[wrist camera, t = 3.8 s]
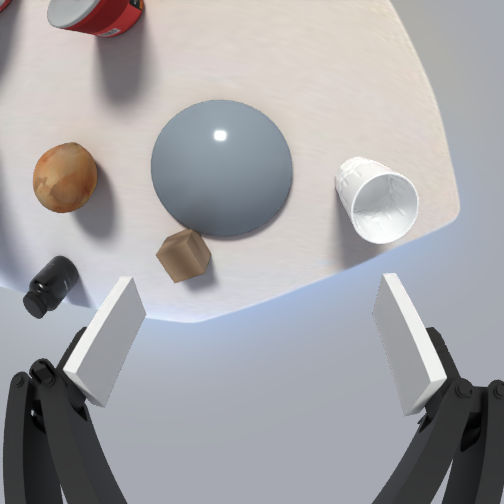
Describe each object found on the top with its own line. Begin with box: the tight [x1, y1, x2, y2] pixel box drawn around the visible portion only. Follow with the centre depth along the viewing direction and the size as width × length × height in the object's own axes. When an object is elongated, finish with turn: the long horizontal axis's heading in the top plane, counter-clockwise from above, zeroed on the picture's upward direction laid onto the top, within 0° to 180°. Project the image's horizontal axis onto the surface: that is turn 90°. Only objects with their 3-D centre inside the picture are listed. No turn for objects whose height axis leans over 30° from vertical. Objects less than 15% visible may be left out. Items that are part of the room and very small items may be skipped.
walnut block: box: [156, 228, 211, 283], centre depth 38 cm, size 5×5×5 cm
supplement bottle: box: [23, 256, 78, 319], centre depth 39 cm, size 7×7×12 cm
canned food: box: [47, 0, 144, 37], centre depth 17 cm, size 8×8×11 cm
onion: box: [33, 143, 97, 213], centre depth 30 cm, size 10×10×10 cm
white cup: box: [335, 157, 419, 244], centre depth 29 cm, size 8×8×10 cm
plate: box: [151, 100, 292, 236], centre depth 34 cm, size 18×18×1 cm
